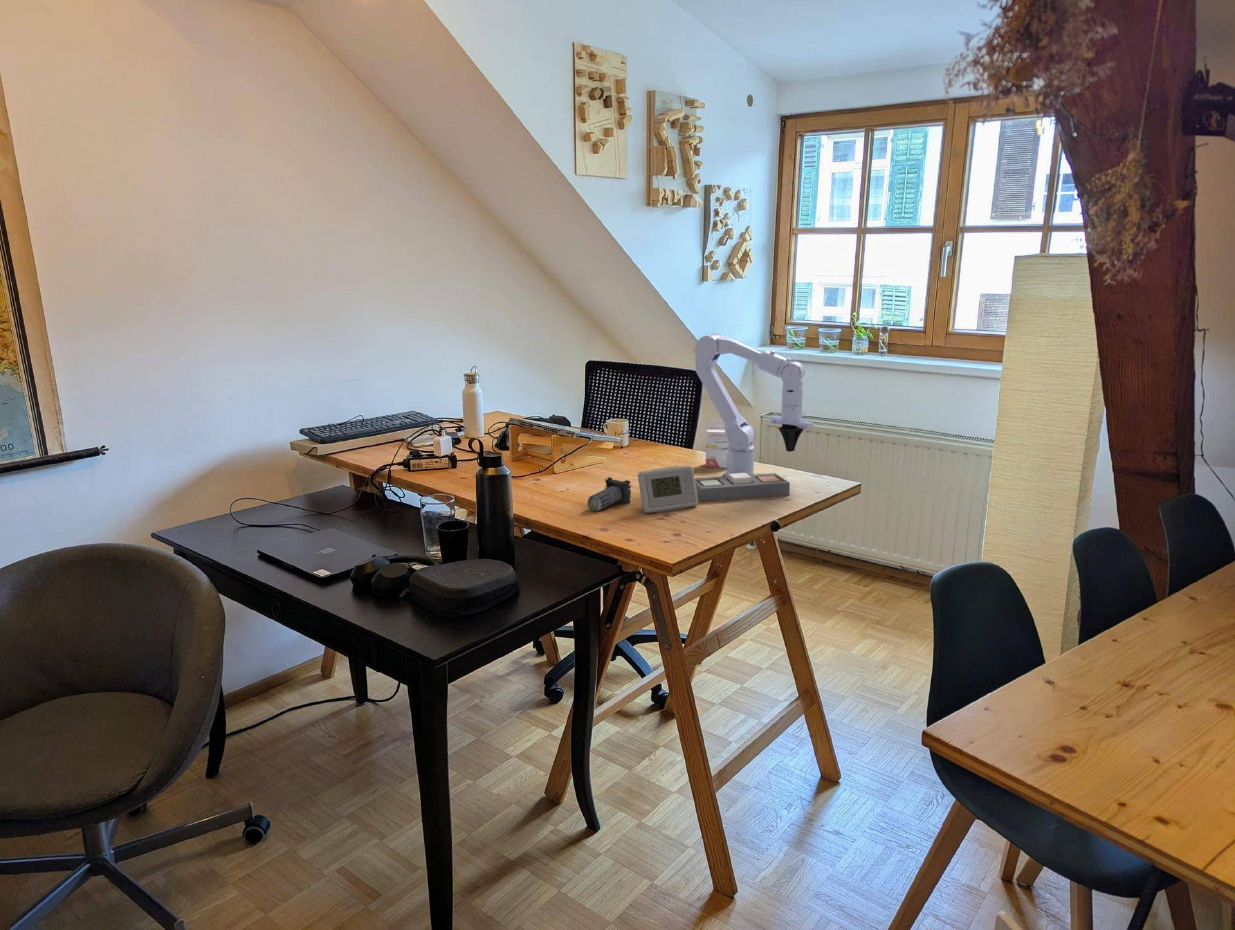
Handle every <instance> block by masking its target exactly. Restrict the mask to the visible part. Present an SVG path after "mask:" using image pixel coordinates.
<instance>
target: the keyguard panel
mask: <svg viewBox="0 0 1235 930" xmlns="http://www.w3.org/2000/svg"><path fill="white" fill-rule="evenodd" d="M749 476H751V483H745V484H733V483H731V482H730V481H729V480H728V478H729V476H725V475H722V476H710V477H709V476H708V477H697V478H696V477H694V478H695V484H696V490H697V496H698V500H700V501H701V502H710V501H711V502H713V501H724V500H736V499H737V500H739V499H751V498H752V499H753V498H766V497H767V498H768V497H781V496H790V486H791V485H790V483H791V482H789V481H788V480H786V479H785V478H783V477H782V476H780V475H779V474H777V473H776V472H771V473H769V472H768V473H756V474H753V475H749ZM764 476H775V477H777V478H778V479H779V480H781V481H774V482H761V481H759V480H758V479H757V477H764ZM704 480H717V481H719V482H720V483H721V484H722V485H716V486H701V485H700V484H699V481H704Z"/></svg>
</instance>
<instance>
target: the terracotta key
mask: <svg viewBox="0 0 1235 930" xmlns="http://www.w3.org/2000/svg"><path fill="white" fill-rule="evenodd" d="M757 479H758V480H759V481H761V482H774V481H781V480H779V479H778V478H777V477H775V476H764V477H757Z"/></svg>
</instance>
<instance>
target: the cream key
mask: <svg viewBox="0 0 1235 930" xmlns="http://www.w3.org/2000/svg"><path fill="white" fill-rule="evenodd" d="M728 480H729V481H730V482H731V483H733V484H745V483H751V476H749V475H748V474H747V473H734V474H729V478H728Z"/></svg>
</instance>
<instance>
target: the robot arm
mask: <svg viewBox="0 0 1235 930" xmlns="http://www.w3.org/2000/svg"><path fill="white" fill-rule="evenodd" d="M693 351H694V355H695V373H696V375H697V376H698V378H699V380H700V382H701V384H702V385H703V387H704V388H705V390H706V392H707V394H708V396H709V398H710V400H711V401H712V404H713V406H714V407H715V409H716V410H717V413H718V414H719V416H720V418H721V420H723V421H724V423H725V432H726V434H727V437H728V444H729V446H730V449H729V450H728V452H727V467H726V469H725V470H726V471H725V472H723V473H722V474H723V476H729V474H734V473H747V474H748V475H753V474H754V470H755V466H754V465H755V464H754V463H755V460H754V459H755V447H754V445H753V443H754V441H755V440H756V437H757V432H756V430H755V428H754V427H753V426H752V425H751V424H749V423H748V421H747V419H746V418H745V417H743V416H742V415H741V414H740V411H738V409H737V407H736V405H735V403H734V401H733V399H732V398H731V396H730V394H729V392H728V390H727V389H726V387H725V385H724V383H723V381H722V379H721V378H720V376H719V374H718V372H717V371H716V365H717V362H718V360H719V358H720V356H721V355H727V354H732V355H735V356H737V357H740V358H743V359H745V360H748V361H750V362H751V363H752V362H753V363H754V364H756V366H757V368H758V369H759V370H760V371H763V372H766V373H767V374H770V375H771V376H774V377H776V378H780V379H781V381H782V389H781V415H780V416H778V415H773V416H770V418H769V419H770V420H769V423H770V424H775V425H781V426H779V427H778V431H779V433H780V434H781V437H782V440H783V441H784V446H785V450H786V452H795V450H796V446H797V443H798V440H799V438H800V436H801V434H802V432H803V431H804V430H806V431H812V430H814V422H810V421H809V420H804V419H802V418H803V396H804V395H803V394H804V391H803V390H804V388H803V381H804V380H803V378H804V377H805V374H806V368H805V367H804V365H803V364H802V363H801V362H799V361H798V360H792V359H791V358H790V357H786V358H785V357H783V356H781V355H779V354H777V353H776V351H775V350H773V349H772V350H770V351H769V350H765V351H761V352H760V351H759V350H756V349H755V348H752V347H750V346H748V345H747V344H743V343H742V342H740V341H738V340H736V339H735V338H734V339H733V338H731V337H730V336H726V335H722V334H720V333H716V332H715V333H711V334H709V335H704V336H701V337H699V338H698V340H697V342H696V344H695V347H694V350H693ZM724 423H723V424H724Z"/></svg>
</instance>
